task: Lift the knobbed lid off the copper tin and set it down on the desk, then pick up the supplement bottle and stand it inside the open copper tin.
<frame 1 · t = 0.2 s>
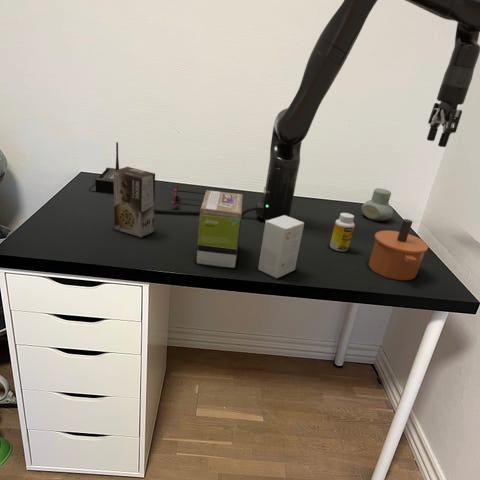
hand: (435, 143, 143), 29 cm above the table, tool pointing down, fingers open, 8 cm apart
coffee box: (134, 231, 131), on the table
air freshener: (374, 218, 168), on the table
glasses: (197, 207, 155), on the table
tea box: (217, 255, 124), on the table
tin: (392, 269, 130), on the table
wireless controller: (115, 188, 160), on the table
tin lid: (400, 242, 126), point 8 cm above the table, touching tin
small box: (276, 270, 120), on the table
supplement bottle: (338, 249, 139), on the table
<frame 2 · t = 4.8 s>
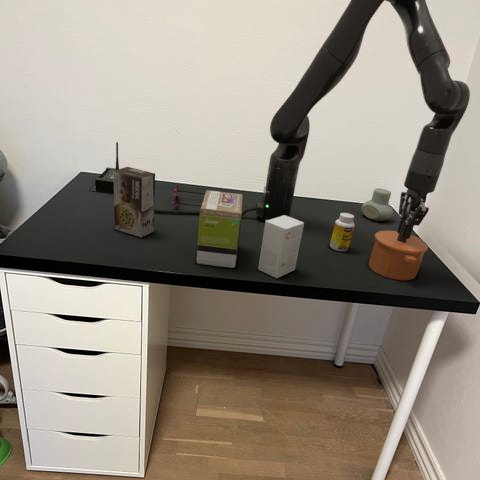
hand: (403, 235, 125), 10 cm above the table, tool pointing down, fingers closed on tin lid, 2 cm apart
tin lid: (400, 242, 126), point 8 cm above the table, touching gripper, tin
everything else where it was.
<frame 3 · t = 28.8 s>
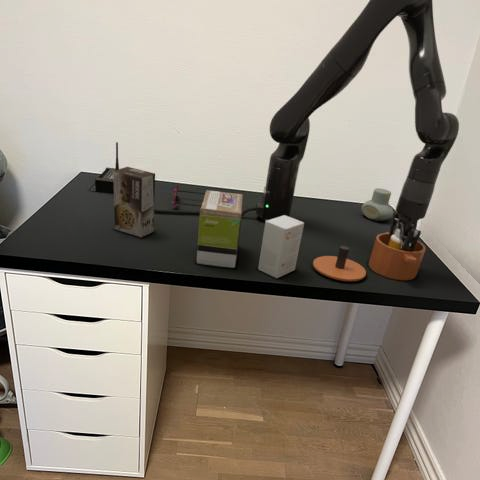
hand: (395, 257, 129), 4 cm above the table, tool pointing down, fingers closed on supplement bottle, 5 cm apart
tin lid: (339, 269, 125), point 1 cm above the table
supplement bottle: (392, 266, 130), point 1 cm above the table, touching gripper
everything else where it was.
when the fingers open (5 cm above the table, at t = 32.3 s): supplement bottle stays where it is, resting on tin.
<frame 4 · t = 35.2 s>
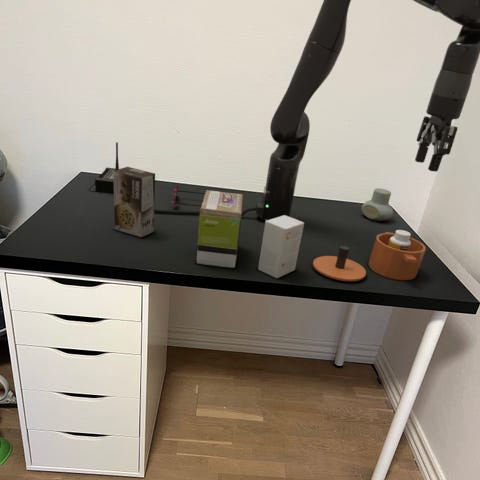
hand: (425, 166, 116), 28 cm above the table, tool pointing down, fingers open, 8 cm apart
supplement bottle: (391, 267, 131), resting on tin
everything else where it was.
at the end: tin lid inside the target area (0.1 cm from its centre), point 0.6 cm above the table; supplement bottle 0.3 cm off-centre in the tin, point 0.3 cm above the tin's base; supplement bottle tilted 0° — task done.
